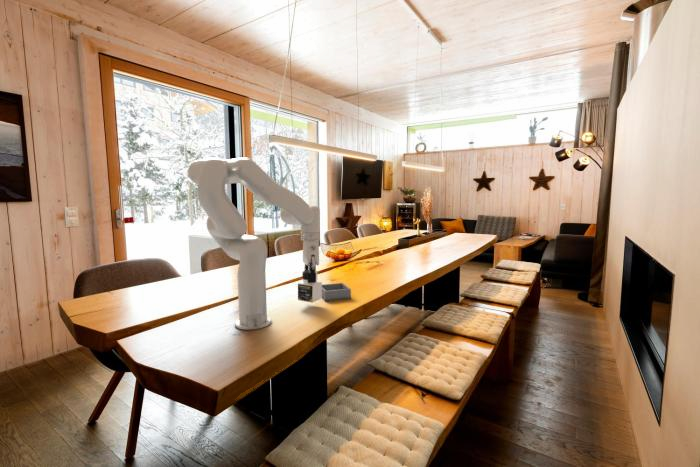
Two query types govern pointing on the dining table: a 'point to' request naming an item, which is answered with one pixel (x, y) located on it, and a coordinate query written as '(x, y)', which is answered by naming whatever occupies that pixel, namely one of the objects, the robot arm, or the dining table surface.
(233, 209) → the robot arm
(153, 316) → the dining table surface
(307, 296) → the medicine bottle
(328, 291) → the grey square tray
